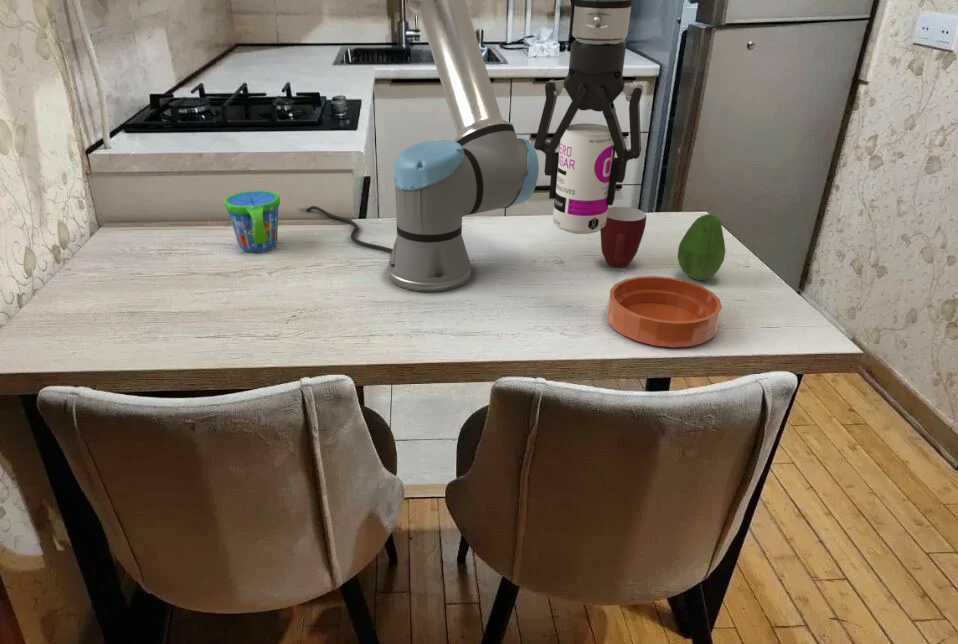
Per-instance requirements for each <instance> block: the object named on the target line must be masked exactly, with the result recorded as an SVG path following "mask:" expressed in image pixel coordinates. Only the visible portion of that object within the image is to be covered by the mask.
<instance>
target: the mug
mask: <svg viewBox="0 0 958 644" xmlns="http://www.w3.org/2000/svg"><path fill="white" fill-rule="evenodd" d="M646 223H647V213H646V212H645V211H643V210H641V209H638V208H635V207H630V206H610V207H608V212H607V220H606V225H605V226H604V227H603V228H601V229H600V232H599V233H600V248H601V252H602V253H601V254H602V256H603V258H604V261H605V263H606V264H607V266H608V267H611V268H615V269H625V268H626V267H628V266H629V265H630V263H631V262H632V261H633V260H634V258H635V257H636V255H637V253H638V250H639V248H640V245H641V242H642V238H643V236H644V233H645V229H646Z"/></svg>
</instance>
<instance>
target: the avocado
mask: <svg viewBox="0 0 958 644" xmlns="http://www.w3.org/2000/svg"><path fill="white" fill-rule="evenodd" d="M725 255H726V245H725V239H724V231H723V226H722V223H721V220H720V219H719V218H718V217H717V216H716V215H715V214H714V213H713V214H711V213H707V214H703V215H701V216H699V217H698V218H696V219H695V220H694V222H692V224H691V225H690V226H689V228H688V229H687V230H686V232H685V234H684V236H683V237H682V238H681V241H680V242H679V244H678V250H677V261H678V266H679V267H680V269H681V270H682V271H683V273H684V274H685V275H687V276H688V277H689V278H690V279H693V280H696V281H706V280H708V279H710V278H711V277H713V276H715V275H716V273H718V271H719V270H720V268H721V266H722V265H723V264H724V263H723V262H724V261H725Z"/></svg>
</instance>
